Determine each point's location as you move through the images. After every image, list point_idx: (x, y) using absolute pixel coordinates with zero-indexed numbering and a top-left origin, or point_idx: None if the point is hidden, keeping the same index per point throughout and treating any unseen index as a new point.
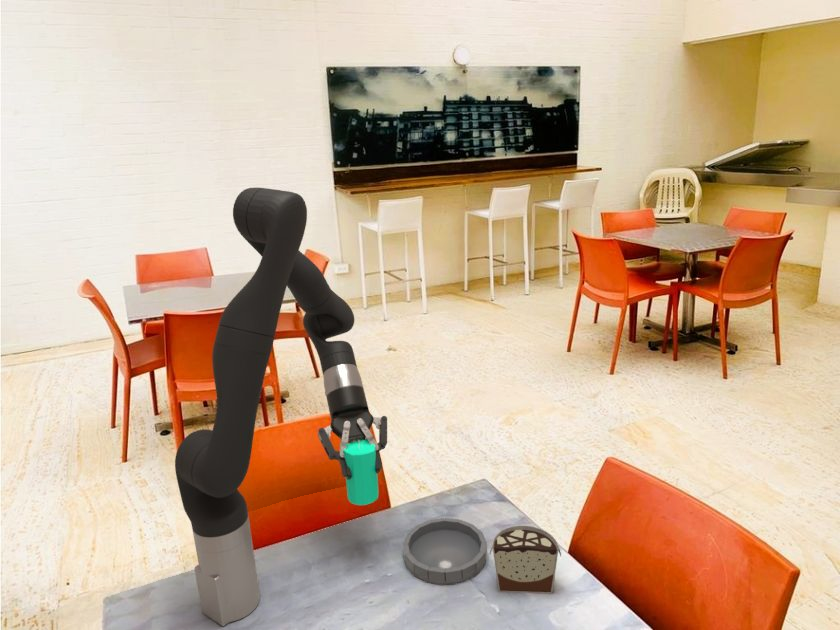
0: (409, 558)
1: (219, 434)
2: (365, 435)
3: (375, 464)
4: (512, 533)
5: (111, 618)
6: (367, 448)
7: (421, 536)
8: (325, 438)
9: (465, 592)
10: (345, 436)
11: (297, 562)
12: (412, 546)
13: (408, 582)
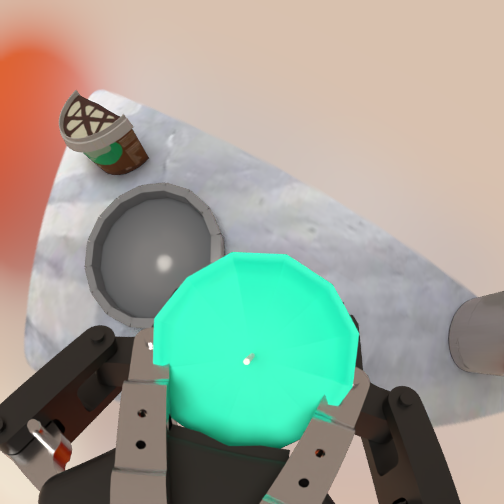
0: (219, 250)
1: None
2: (165, 408)
3: None
4: (82, 137)
5: None
6: (203, 338)
7: None
8: (436, 484)
9: (182, 176)
10: (315, 460)
11: (382, 385)
12: None
13: (240, 236)
